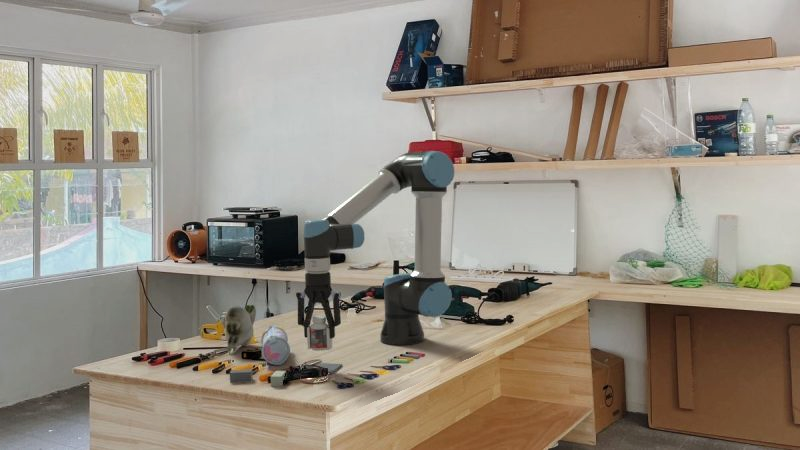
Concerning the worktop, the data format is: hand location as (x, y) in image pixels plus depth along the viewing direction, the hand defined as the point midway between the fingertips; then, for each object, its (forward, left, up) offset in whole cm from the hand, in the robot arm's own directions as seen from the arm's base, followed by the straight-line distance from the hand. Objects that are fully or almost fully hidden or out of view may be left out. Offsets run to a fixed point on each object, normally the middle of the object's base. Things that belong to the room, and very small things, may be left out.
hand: (320, 348), depth 244 cm
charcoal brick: (+15, -19, -7) cm, 25 cm away
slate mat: (0, 0, -7) cm, 7 cm away
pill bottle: (0, 0, -1) cm, 1 cm away
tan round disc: (+11, +2, -7) cm, 13 cm away
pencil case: (-11, -19, -7) cm, 23 cm away
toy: (-24, -37, -7) cm, 45 cm away
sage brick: (+16, -7, -7) cm, 19 cm away
